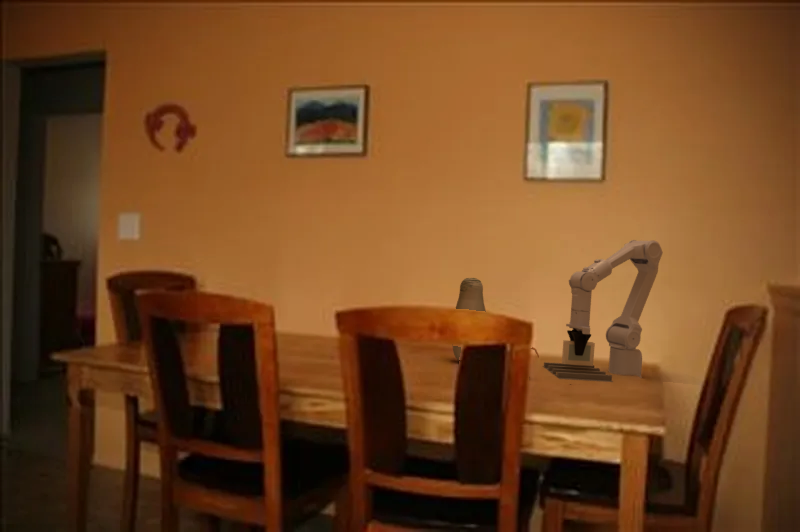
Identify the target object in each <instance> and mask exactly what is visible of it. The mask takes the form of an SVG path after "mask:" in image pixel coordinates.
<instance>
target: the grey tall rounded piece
mask: <svg viewBox="0 0 800 532" xmlns="http://www.w3.org/2000/svg"><path fill="white" fill-rule="evenodd" d="M458 293H459V294H458V299H457V302H456V306H455V308H456V309H469V310H476V311H485V312H486V307H485V301H484V285H483V283H482V281H481V280H480V279H478V278H476V277H466V278H464V279H463V280H462V281H461V282H460V285H459V292H458ZM486 313H487V312H486ZM452 352H453V355H454V357H455V359H456V360H457V361H459V357H460V353H461V347H458V346H453V345H452Z"/></svg>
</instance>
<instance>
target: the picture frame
mask: <svg viewBox="0 0 800 532" xmlns="http://www.w3.org/2000/svg"><path fill="white" fill-rule="evenodd" d="M595 344H596V343H595V342H593V341H588V342H587V344H586V347H585V350H584V353H583V356H578V355H575V346H574V341H570V340H565V339H564V340H563V342H562V353H561V354H562V355H561V363H563V364H570V365H586V366H593V365H594V360H595V359H594V358H595V348H596V347H595Z"/></svg>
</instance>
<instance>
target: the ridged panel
mask: <svg viewBox="0 0 800 532" xmlns="http://www.w3.org/2000/svg"><path fill="white" fill-rule="evenodd" d="M542 367H543V368H545V370H547V371H548V372H549V373H551V374H552V375H553V376H555V377H556V378H558V380H569V381H570V380H571V381H587V382H606V383H608V382H609V383H614V381H613V380H612V378H613V375H612V374H607V372H606V371H602V370H601V369H600V368H598V367H595V365H594V364H593V366H586V365H570V364H563V363H562V362H560V363H559V362H548V361H547V362H546V361H544V362H543V365H542Z"/></svg>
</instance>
